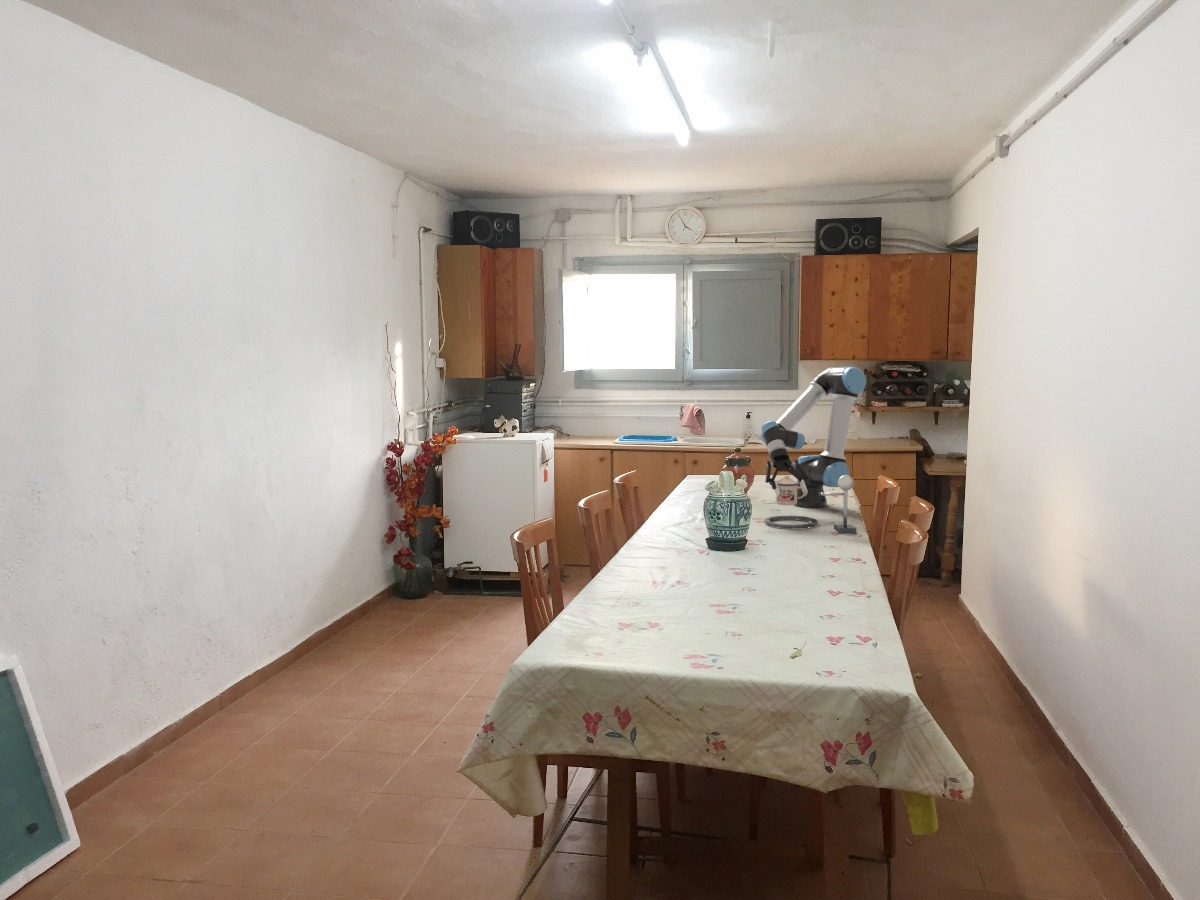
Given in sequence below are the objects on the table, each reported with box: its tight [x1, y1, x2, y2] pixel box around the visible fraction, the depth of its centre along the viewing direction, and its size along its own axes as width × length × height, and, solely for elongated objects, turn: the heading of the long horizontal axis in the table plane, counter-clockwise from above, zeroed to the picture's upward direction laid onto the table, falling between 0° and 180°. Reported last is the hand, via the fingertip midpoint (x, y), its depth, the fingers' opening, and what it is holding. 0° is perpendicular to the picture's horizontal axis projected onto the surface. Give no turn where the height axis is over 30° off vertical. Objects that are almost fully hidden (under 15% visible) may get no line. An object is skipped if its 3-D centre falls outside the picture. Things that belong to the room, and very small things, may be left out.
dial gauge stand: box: [819, 475, 857, 534], centre depth 357 cm, size 14×7×22 cm, turn 90°
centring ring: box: [764, 515, 819, 529], centre depth 374 cm, size 21×21×2 cm
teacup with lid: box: [775, 475, 805, 506], centre depth 372 cm, size 12×9×12 cm
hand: (792, 494), depth 369 cm, fingers closed on teacup with lid, 11 cm apart
